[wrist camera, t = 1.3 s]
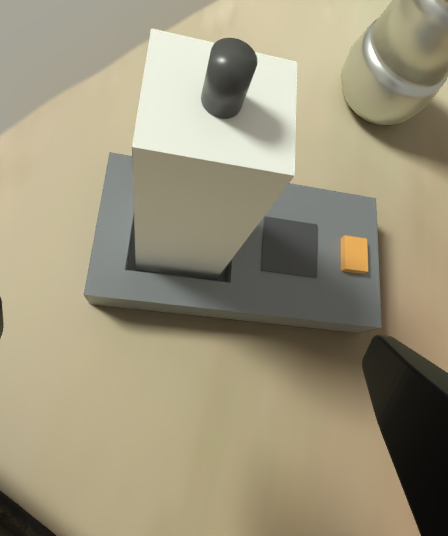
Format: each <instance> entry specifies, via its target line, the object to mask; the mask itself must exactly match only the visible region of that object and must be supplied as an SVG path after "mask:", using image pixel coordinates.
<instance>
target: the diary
mask: <svg viewBox="0 0 448 536" xmlns="http://www.w3.org/2000/svg"><path fill="white" fill-rule="evenodd" d="M0 536H56V535H55V534H54V533H53V532H51V531H50V530H49V529H48V528H46V527H45V526H44V525H43V524H41V523H40V522H39V521H38V520H36V519H35V518H34V517H33V516H31V515H30V514H29V513H28V512H26V511H25V510H24V509H23V508H21V507H20V506H19V505H18V504H16V503H15V502H14V501H13V500H11V499H10V498H9V497H8V496H6V495H5V494H4V493H3V492H1V491H0Z"/></svg>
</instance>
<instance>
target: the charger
mask: <svg viewBox="0 0 448 536" xmlns="http://www.w3.org/2000/svg"><path fill="white" fill-rule="evenodd" d="M296 88H297V62H296V61H291V60H287V59H283V58H278V57H274V56H270V55H265V54H261V53H257V52H254V50H253V49H252V48H251V47H250V46H249V45H248V44H247V43H245V42H243V41H241V40H239V39H235V38H224V39H221V40H218V41H217V42H216V43H213V42H209V41H204V40H200V39H196V38H191V37H187V36H183V35H178V34H174V33H170V32H165V31H160V30H157V29H151V33H150V39H149V45H148V52H147V58H146V64H145V70H144V76H143V82H142V88H141V95H140V101H139V107H138V113H137V119H136V125H135V131H134V138H133V144H132V164H133V195H134V227H135V259H136V270H143V271H151V272H159V273H167V274H175V275H183V276H191V277H199V278H207V279H215V280H216V279H217V278H218V277H219V275H220V274H221V273H222V271H223V270H224V269H225V267H226V266H227V265H228V263H229V262H230V261H231V259H232V258H233V257H234V255H235V254H236V253H237V251H238V250H239V249H240V248H241V246H242V245H243V244H244V242H245V241H246V240H247V238H248V237H249V236H250V234H251V233H252V232H253V230H254V229H255V228H256V226H257V225H258V224H259V222H260V221H261V220H262V218H263V217H264V216H265V214H266V213H267V212H268V210H269V209H270V208H271V206H272V205H273V204H274V202H275V201H276V200H277V198H278V197H279V196H280V194H281V193H282V192H283V190H284V189H285V188H286V186H287V185H288V184H289V182H290V181H291V180H292V178H293V177H294V173H295V131H296Z"/></svg>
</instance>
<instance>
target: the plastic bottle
mask: <svg viewBox="0 0 448 536" xmlns="http://www.w3.org/2000/svg"><path fill="white" fill-rule="evenodd" d="M447 77H448V0H392V1H391V3H390V4H389V5H388V6H387V8H386V9H385V10H384V11H383V13H382V14H381V15H380V17H379V18H378V19H376V20H375V21H374V22H373V23H372V24H371V25H370V26H369V27H368V28H367V29H366V30H365V31H364V32H363V34H362V35H361V36H360V37H359V38H358V40H357V41H356V42H355V43H354V45H353V46H352V47H351V49H350V52H349V54H348V56H347V59H346V61H345V63H344V66H343V69H342V74H341V79H342V90H343V94H344V97H345V99H346V101H347V103H348V104H349V106H350V107H351V109H352V110H353V111H354V112H355V113H356V114H357V115H359V116H360V117H361V118H363V119H364V120H366V121H368V122H371V123H374V124H378V125H393V124H399V123H402V122H404V121H406V120H408V119H409V118H411V117H412V116H414V115H415V114H417V113H419V112H420V111H422V110H423V109H424V108H425V107H426V106H427V105H428V104H429V102H430V101H431V100H432V99H433V97H434V96H435V95H436V94H437V93H438V91H439V90H440V88H441V87H442V85H443V84H444V82H445V81H446V79H447Z"/></svg>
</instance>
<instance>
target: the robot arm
mask: <svg viewBox="0 0 448 536" xmlns="http://www.w3.org/2000/svg"><path fill="white" fill-rule="evenodd" d="M2 332H3V312H2V301H1V298H0V338H1V336H2ZM362 368H363V372H364V376H365V379H366V383H367V387H368V390H369V394H370V398H371V401H372V405H373V409H374V412H375V416H376V419H377V422H378V425H379V428H380V431H381V433H382V436H383V438H384V441H385V444H386V446H387V449H388V451H389V454H390V457H391V459H392V462H393V464H394V467H395V469H396V472H397V475H398V477H399V480H400V482H401V485H402V488H403V490H404V493H405V495H406V498H407V501H408V503H409V506H410V508H411V511H412V514H413V516H414V519H415V521H416V524H417V527H418V529H419V532H420V534H421V536H448V373H447V372H445V371H444V370H442V369H441V368H439V367H438V366H436V365H435V364H433V363H432V362H430V361H428V360H427V359H425V358H424V357H422V356H421V355H419V354H418V353H416V352H415V351H413V350H412V349H410V348H408V347H407V346H405V345H404V344H402V343H401V342H399V341H398V340H396V339H395V338H393V337H390V336H383V335H376V336H375V337H373V339H372V341H371V343H370V345H369V347H368V349H367V351H366V353H365V355H364V358H363V361H362Z"/></svg>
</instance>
